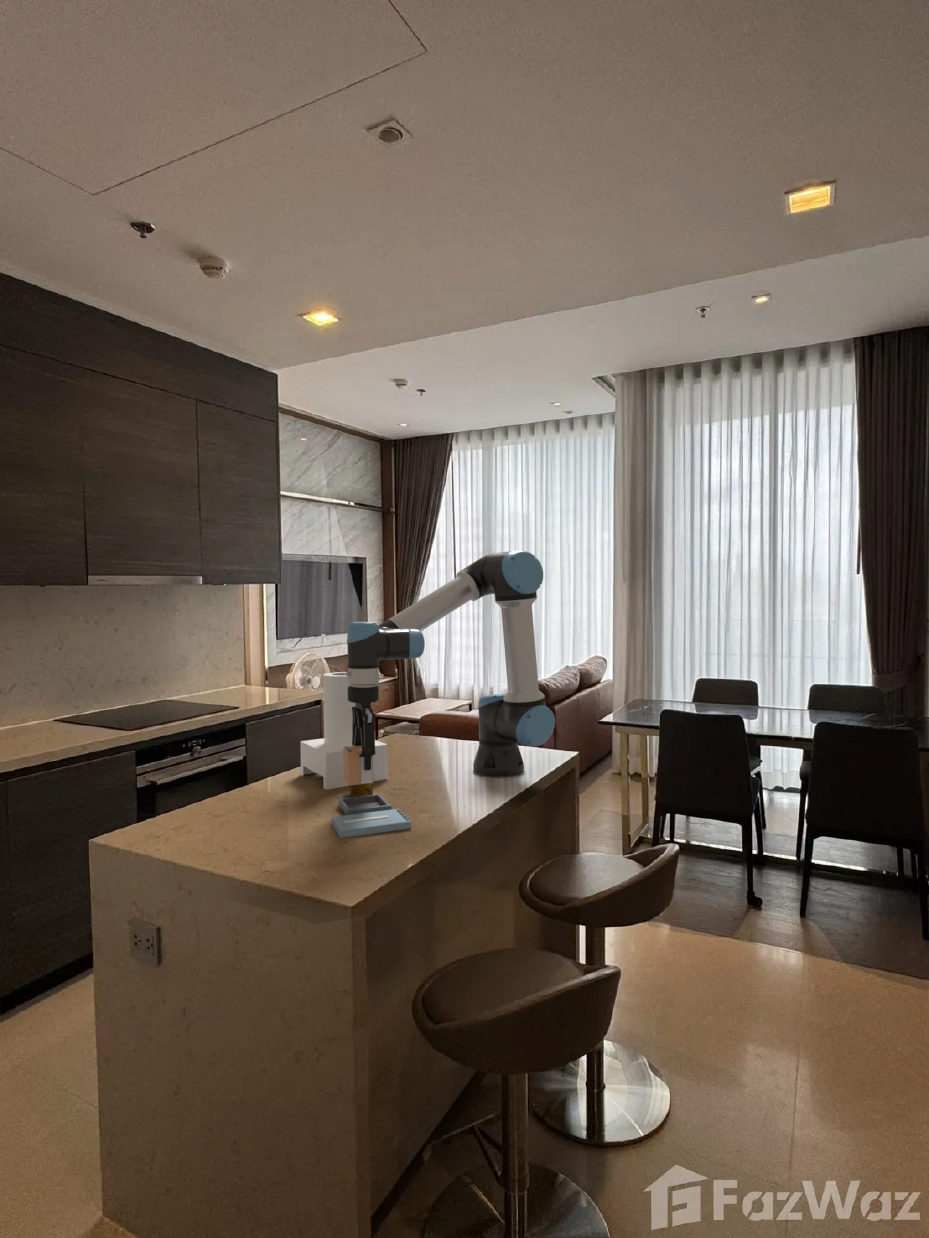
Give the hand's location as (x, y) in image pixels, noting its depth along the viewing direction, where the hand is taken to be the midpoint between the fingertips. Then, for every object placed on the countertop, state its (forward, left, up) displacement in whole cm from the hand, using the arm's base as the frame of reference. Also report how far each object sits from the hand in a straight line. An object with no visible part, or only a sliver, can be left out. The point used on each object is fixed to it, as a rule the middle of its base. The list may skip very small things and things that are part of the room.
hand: (363, 779), depth 168 cm
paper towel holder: (-2, -33, -8) cm, 34 cm away
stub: (+1, 0, 0) cm, 1 cm away
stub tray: (0, 0, -8) cm, 8 cm away
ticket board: (+1, +12, -8) cm, 14 cm away
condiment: (-1, -11, -8) cm, 14 cm away
